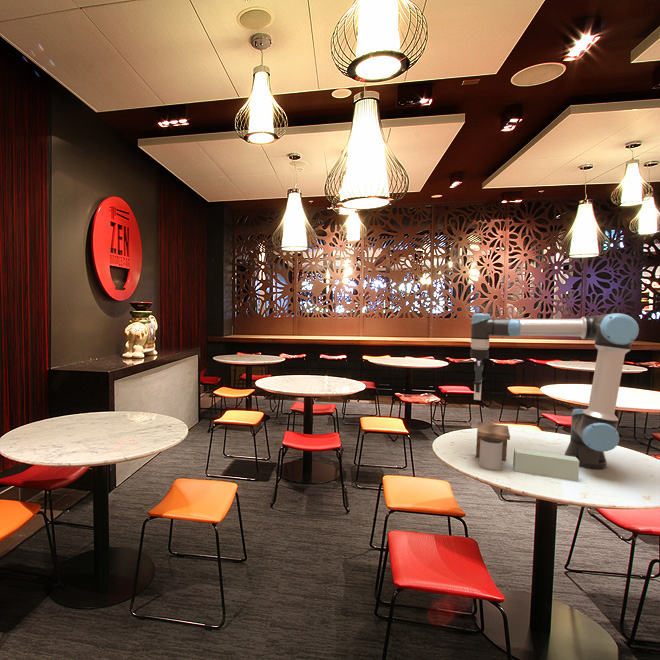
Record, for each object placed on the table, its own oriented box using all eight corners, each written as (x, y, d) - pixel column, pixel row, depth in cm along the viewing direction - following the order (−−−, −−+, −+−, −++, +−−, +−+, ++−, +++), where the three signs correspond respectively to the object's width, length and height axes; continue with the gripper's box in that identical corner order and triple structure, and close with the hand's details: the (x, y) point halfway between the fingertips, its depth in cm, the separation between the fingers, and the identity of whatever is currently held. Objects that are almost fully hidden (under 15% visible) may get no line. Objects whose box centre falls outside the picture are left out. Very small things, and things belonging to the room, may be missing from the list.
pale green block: (574, 477, 150) (575, 457, 149) (578, 482, 145) (579, 461, 145) (512, 467, 157) (514, 448, 157) (514, 472, 153) (515, 452, 152)
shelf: (505, 460, 164) (507, 425, 164) (507, 473, 150) (509, 436, 149) (476, 455, 169) (477, 421, 168) (475, 468, 154) (477, 431, 154)
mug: (502, 471, 152) (504, 444, 151) (479, 468, 154) (481, 441, 154) (499, 461, 163) (500, 435, 163) (477, 458, 166) (479, 433, 165)
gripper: (471, 346, 180) (469, 391, 181) (469, 350, 157) (467, 401, 158) (488, 347, 177) (486, 392, 178) (488, 351, 154) (486, 403, 155)
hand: (477, 396), depth 168 cm, fingers open, 13 cm apart
